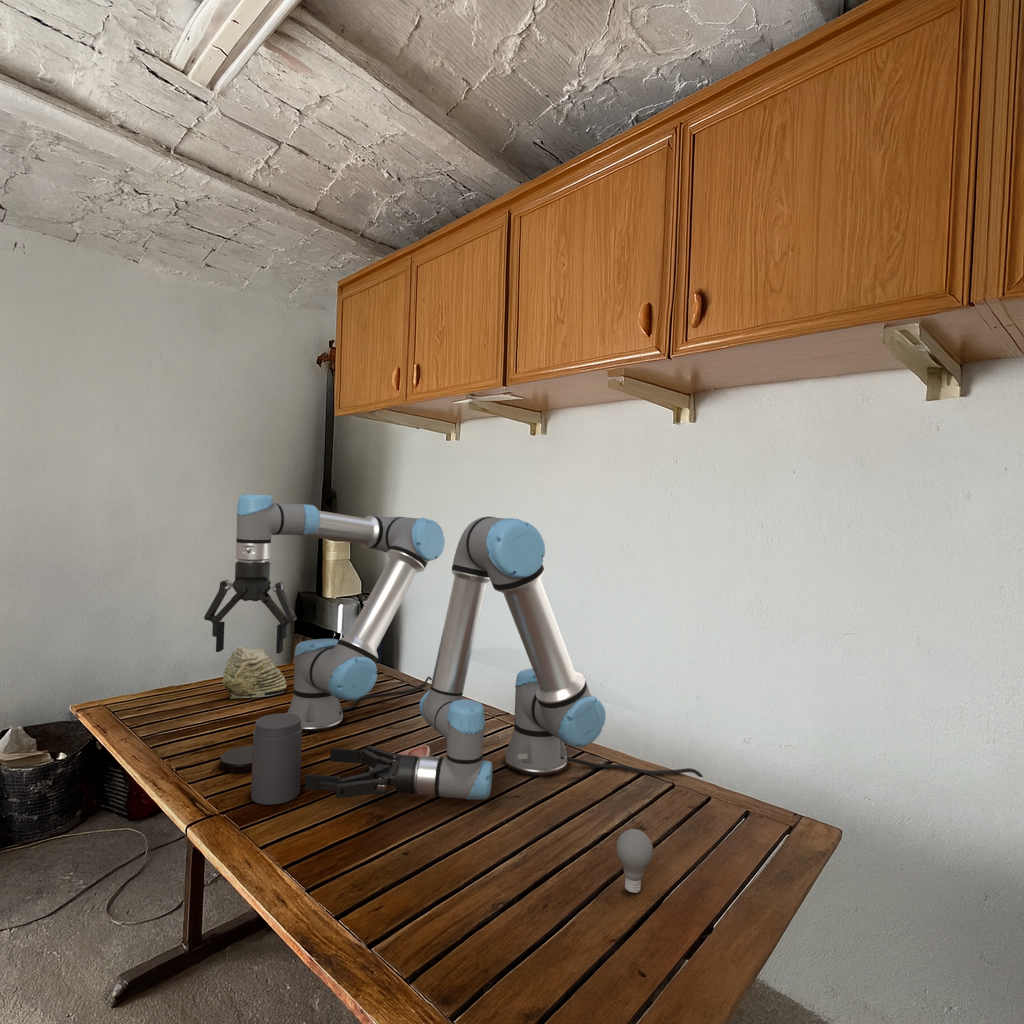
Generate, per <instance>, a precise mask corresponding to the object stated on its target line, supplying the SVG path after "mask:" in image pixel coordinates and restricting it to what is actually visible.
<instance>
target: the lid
mask: <svg viewBox="0 0 1024 1024" xmlns="http://www.w3.org/2000/svg"><path fill="white" fill-rule="evenodd" d="M252 752H253V745H244V746H238V747H234V748H231V749H228V750H226V751H223V753H222V754H221V755H220V758H219V768H220V770H221V771H223V772H225V773H228V774H235V775H237V774H248V773H252Z"/></svg>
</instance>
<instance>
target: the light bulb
mask: <svg viewBox="0 0 1024 1024" xmlns="http://www.w3.org/2000/svg"><path fill="white" fill-rule="evenodd" d="M615 849H616V854H617V857H618V859H619V861H620V863H621V865H622V867H623V873H624V874H623V875H624V876H625V878H624V888H625V890H627V891H628V892H630V893H634V894H635V893H639V892H640V891H641V889H642V887H641V886H642V879H643V877H644V875H645V871H646V868H647V867H648V866H649V864H650V863H651V861H652V859H653V855H654V847H653V843H652V841H651V838H649V836H648V835H647V834H646V833H645V832H643V831H642V830H641V829H636V828H629V829H627V830H625V831H623V832H622V833H621V834H620V835H619V837H618V839H617V841H616V847H615Z"/></svg>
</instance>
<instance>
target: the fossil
mask: <svg viewBox="0 0 1024 1024" xmlns="http://www.w3.org/2000/svg"><path fill="white" fill-rule="evenodd" d="M222 676H223V677H222V685H223V687H224V688H225V690H226V691H228V693H229V698H230V699H250V698H264V697H271V696H275V695H281V694H284V693H285V691H286V689H287V687H288V686H287V680H286V678H285V676H284V674H283V673H282V672H281V669H279V668H278V667H277V665H276V663H275V662H274V660H273V659H272V658H271V657H270V656H269V655H268V654H267V653H266V652H265V650H264V649H263V648H260V647H258V648H251V647H247V646H246V647H245V646H238V647H237V648H236V649H235V650H233V651H232V653H231V656H230V657H229V659H228V660H227V663H226V666H225V668H224V671H223V675H222Z"/></svg>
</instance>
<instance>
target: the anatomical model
mask: <svg viewBox="0 0 1024 1024" xmlns="http://www.w3.org/2000/svg"><path fill="white" fill-rule="evenodd" d="M397 754H401V755H414V756H418V757H419V758H421V757H422V756H430V754H431V749H430V746H429V745H426V744H425V745H419V746H416V747H412V748H409V749H406V750H404V751H401V752H399V753H397ZM368 769H369V770H371V769H373V768H371V767H370V766H368Z"/></svg>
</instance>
